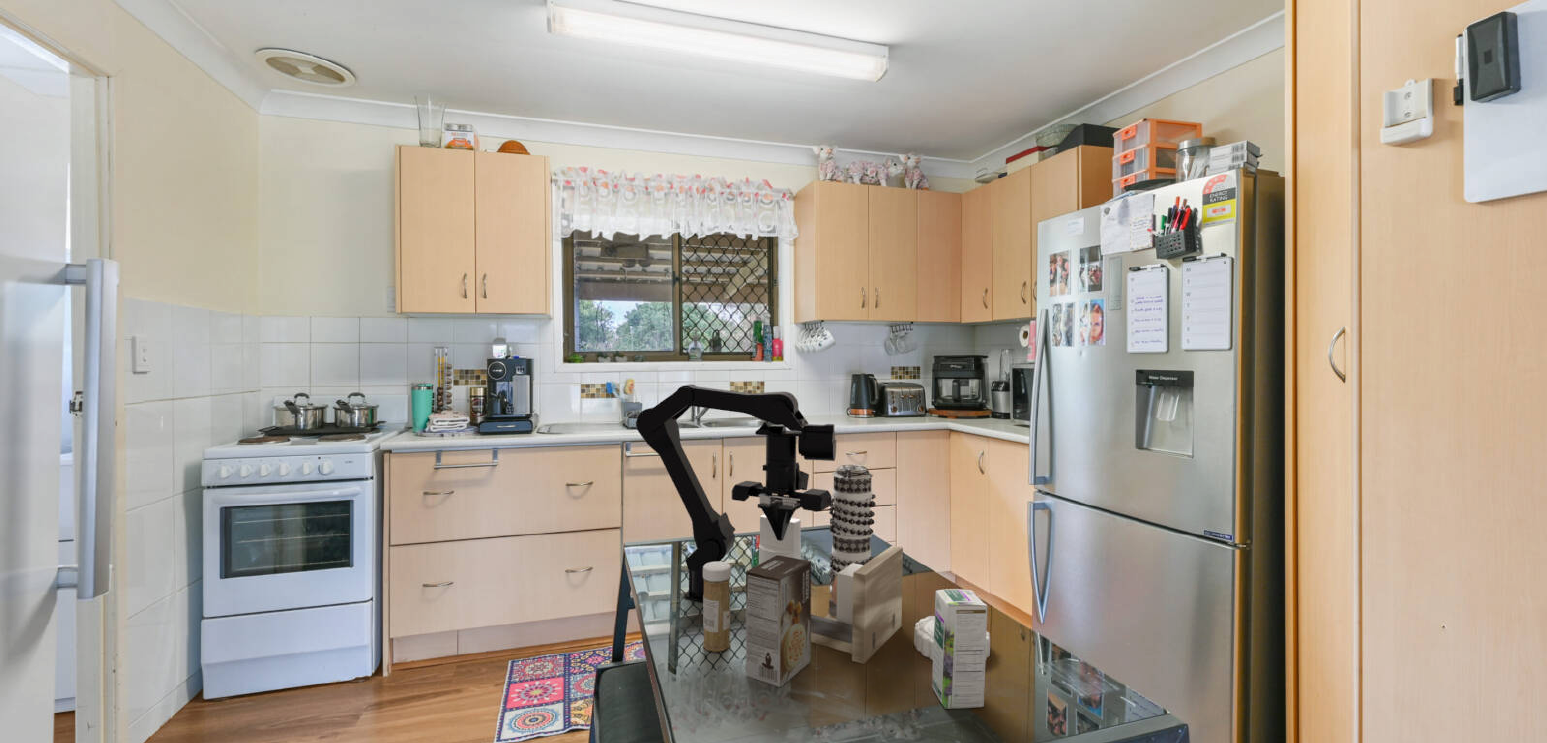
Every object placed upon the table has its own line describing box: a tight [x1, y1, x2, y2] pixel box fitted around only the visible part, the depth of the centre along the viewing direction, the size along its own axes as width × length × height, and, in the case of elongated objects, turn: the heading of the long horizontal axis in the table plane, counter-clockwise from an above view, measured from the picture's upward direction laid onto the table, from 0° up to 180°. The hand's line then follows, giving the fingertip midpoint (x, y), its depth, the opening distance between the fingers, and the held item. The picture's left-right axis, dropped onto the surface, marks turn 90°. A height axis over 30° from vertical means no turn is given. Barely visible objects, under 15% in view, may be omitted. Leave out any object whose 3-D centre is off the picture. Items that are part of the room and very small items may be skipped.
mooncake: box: [913, 615, 991, 661], centre depth 106 cm, size 12×12×4 cm
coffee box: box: [745, 555, 812, 688], centre depth 98 cm, size 9×6×16 cm
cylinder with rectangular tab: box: [758, 513, 802, 565], centre depth 139 cm, size 9×9×12 cm
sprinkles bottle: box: [702, 561, 732, 653], centre depth 105 cm, size 5×5×14 cm
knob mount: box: [811, 545, 904, 665], centre depth 110 cm, size 12×16×14 cm
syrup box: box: [931, 588, 988, 710], centre depth 91 cm, size 6×6×14 cm
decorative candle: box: [828, 464, 877, 594], centre depth 129 cm, size 9×9×25 cm
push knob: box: [831, 563, 863, 625], centre depth 110 cm, size 6×6×10 cm
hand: (780, 540), depth 123 cm, fingers closed
